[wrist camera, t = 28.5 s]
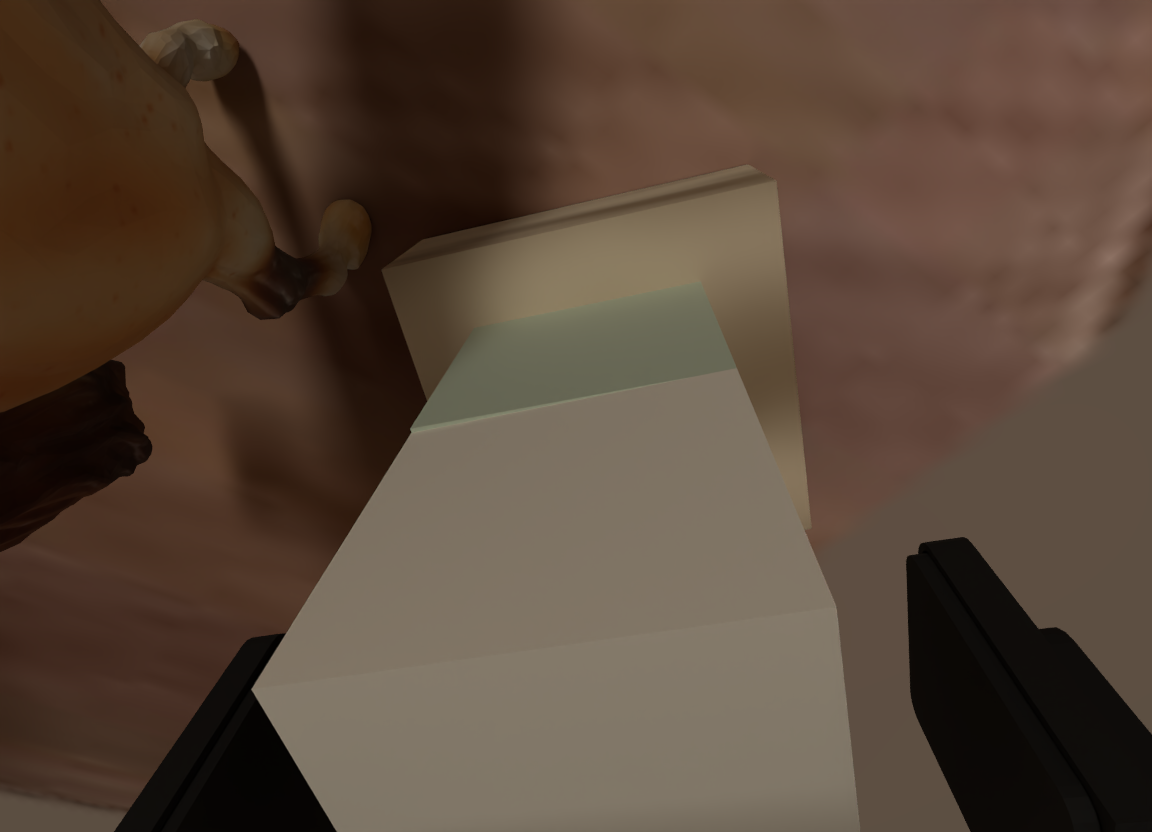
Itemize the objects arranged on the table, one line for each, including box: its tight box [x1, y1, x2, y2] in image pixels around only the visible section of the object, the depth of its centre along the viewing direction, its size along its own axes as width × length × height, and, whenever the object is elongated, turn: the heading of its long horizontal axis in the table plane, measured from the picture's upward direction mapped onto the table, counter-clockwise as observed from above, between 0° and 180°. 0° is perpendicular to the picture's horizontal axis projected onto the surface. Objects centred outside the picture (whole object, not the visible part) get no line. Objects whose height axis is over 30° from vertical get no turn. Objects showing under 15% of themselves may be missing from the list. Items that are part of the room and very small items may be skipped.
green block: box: [410, 281, 737, 433], centre depth 16 cm, size 6×6×6 cm
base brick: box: [381, 165, 812, 530], centre depth 20 cm, size 10×10×4 cm
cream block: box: [251, 368, 860, 832], centre depth 11 cm, size 6×6×6 cm
